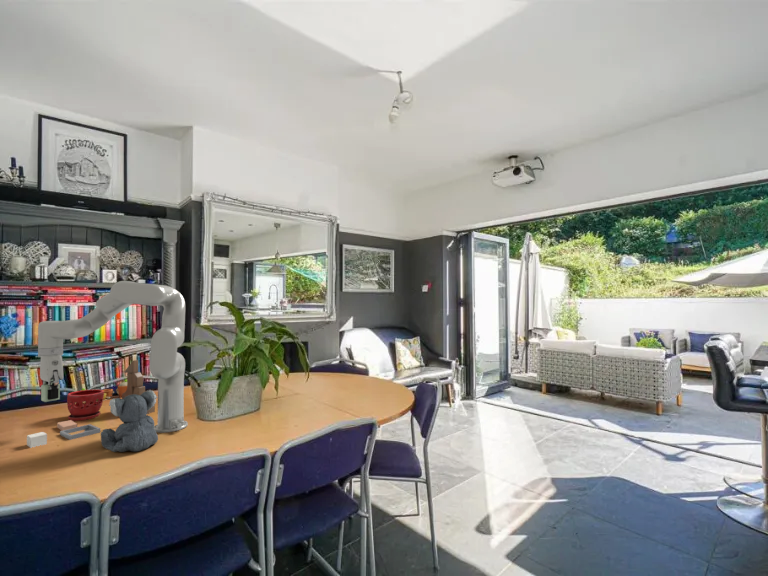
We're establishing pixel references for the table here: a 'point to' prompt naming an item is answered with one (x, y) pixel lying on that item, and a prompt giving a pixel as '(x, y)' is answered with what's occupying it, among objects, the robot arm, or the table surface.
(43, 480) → the table surface
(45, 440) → the cream cube
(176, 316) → the robot arm
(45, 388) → the sage block
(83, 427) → the grey tray
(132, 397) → the koala plush
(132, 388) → the wooden toy
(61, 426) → the terracotta brick
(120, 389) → the toy tea set
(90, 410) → the plant pot
